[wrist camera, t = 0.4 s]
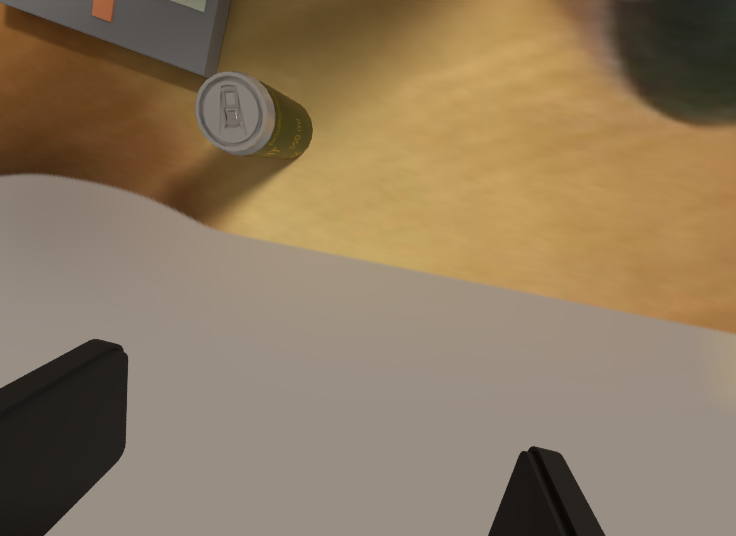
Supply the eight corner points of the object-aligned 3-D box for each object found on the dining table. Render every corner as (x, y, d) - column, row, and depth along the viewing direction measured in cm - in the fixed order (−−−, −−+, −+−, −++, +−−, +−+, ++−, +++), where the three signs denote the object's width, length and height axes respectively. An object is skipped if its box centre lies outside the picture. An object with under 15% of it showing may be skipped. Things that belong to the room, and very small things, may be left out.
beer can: (258, 100, 36) (186, 68, 24) (313, 99, 35) (267, 66, 24) (262, 159, 37) (196, 155, 26) (315, 159, 37) (272, 155, 25)
